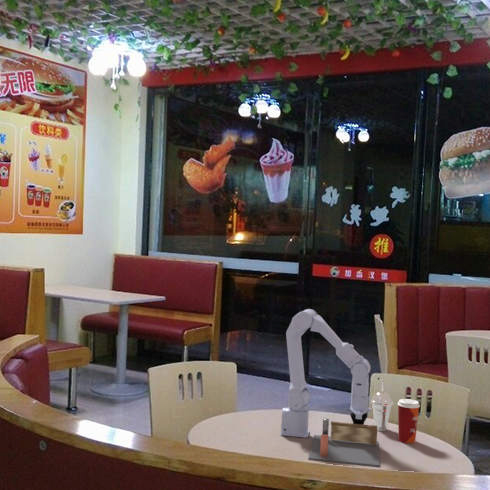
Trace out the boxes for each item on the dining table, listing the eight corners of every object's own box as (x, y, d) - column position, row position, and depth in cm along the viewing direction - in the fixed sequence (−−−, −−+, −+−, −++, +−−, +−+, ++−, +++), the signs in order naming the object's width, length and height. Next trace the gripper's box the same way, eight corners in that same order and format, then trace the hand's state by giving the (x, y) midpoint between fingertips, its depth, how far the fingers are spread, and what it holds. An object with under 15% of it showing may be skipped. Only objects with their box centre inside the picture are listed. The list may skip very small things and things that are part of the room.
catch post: (319, 458, 213) (320, 436, 213) (320, 455, 215) (321, 434, 215) (327, 458, 212) (328, 437, 212) (327, 456, 215) (328, 434, 214)
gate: (330, 439, 229) (330, 421, 229) (330, 437, 231) (331, 420, 230) (376, 444, 225) (377, 426, 225) (376, 443, 227) (377, 425, 227)
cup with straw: (397, 430, 245) (399, 376, 245) (379, 434, 240) (382, 379, 240) (380, 424, 252) (382, 371, 252) (362, 427, 247) (365, 374, 247)
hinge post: (321, 441, 229) (322, 419, 229) (322, 439, 231) (323, 418, 231) (327, 442, 229) (328, 420, 229) (328, 440, 231) (329, 418, 231)
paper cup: (418, 445, 229) (420, 405, 229) (395, 443, 231) (397, 403, 231) (417, 438, 237) (419, 399, 237) (395, 436, 239) (397, 397, 238)
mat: (308, 459, 211) (308, 457, 211) (314, 436, 235) (314, 434, 235) (379, 466, 207) (379, 465, 207) (378, 442, 231) (378, 441, 231)
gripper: (371, 401, 221) (369, 442, 222) (371, 391, 236) (369, 429, 236) (350, 399, 223) (348, 440, 223) (351, 389, 237) (349, 427, 237)
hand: (357, 434), depth 230 cm, fingers closed
